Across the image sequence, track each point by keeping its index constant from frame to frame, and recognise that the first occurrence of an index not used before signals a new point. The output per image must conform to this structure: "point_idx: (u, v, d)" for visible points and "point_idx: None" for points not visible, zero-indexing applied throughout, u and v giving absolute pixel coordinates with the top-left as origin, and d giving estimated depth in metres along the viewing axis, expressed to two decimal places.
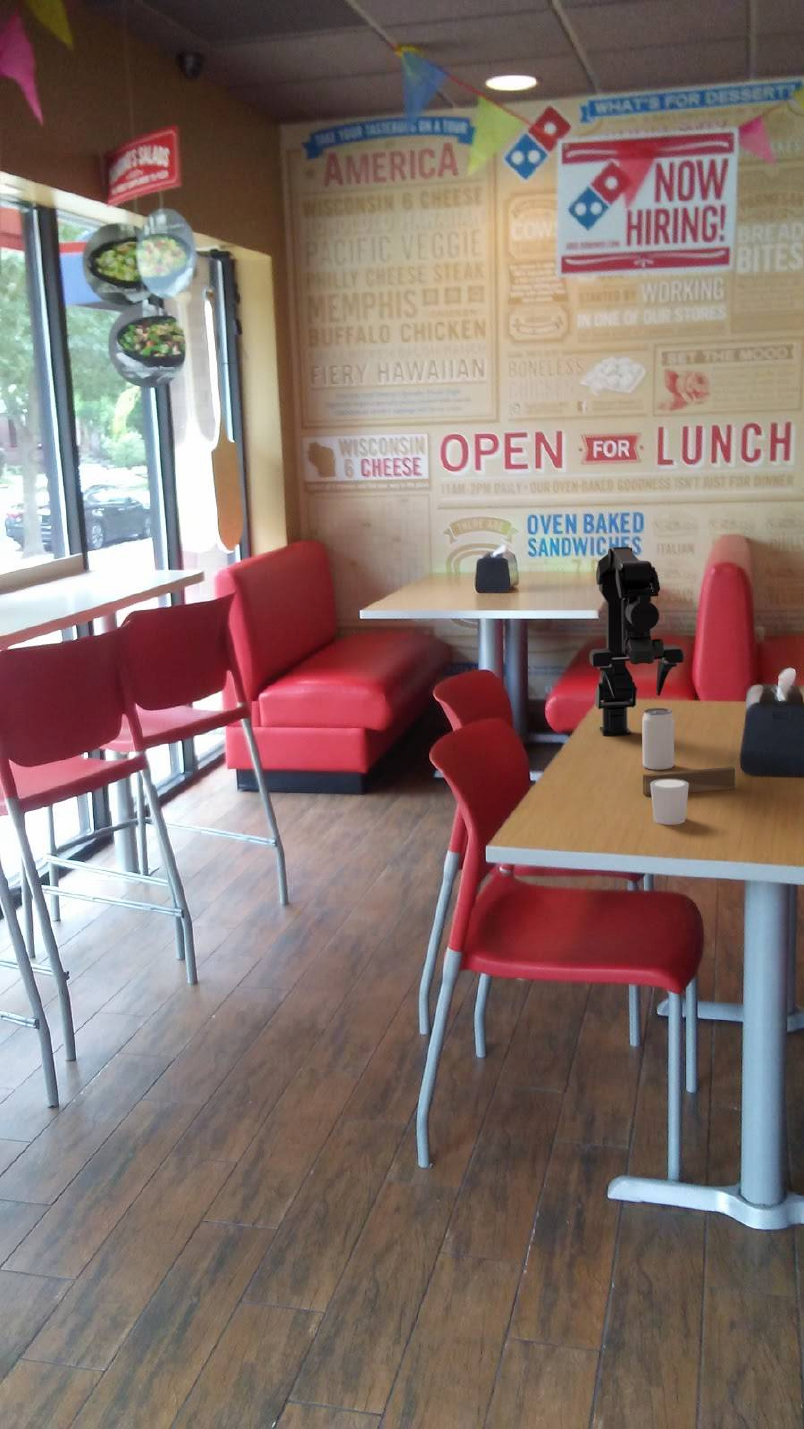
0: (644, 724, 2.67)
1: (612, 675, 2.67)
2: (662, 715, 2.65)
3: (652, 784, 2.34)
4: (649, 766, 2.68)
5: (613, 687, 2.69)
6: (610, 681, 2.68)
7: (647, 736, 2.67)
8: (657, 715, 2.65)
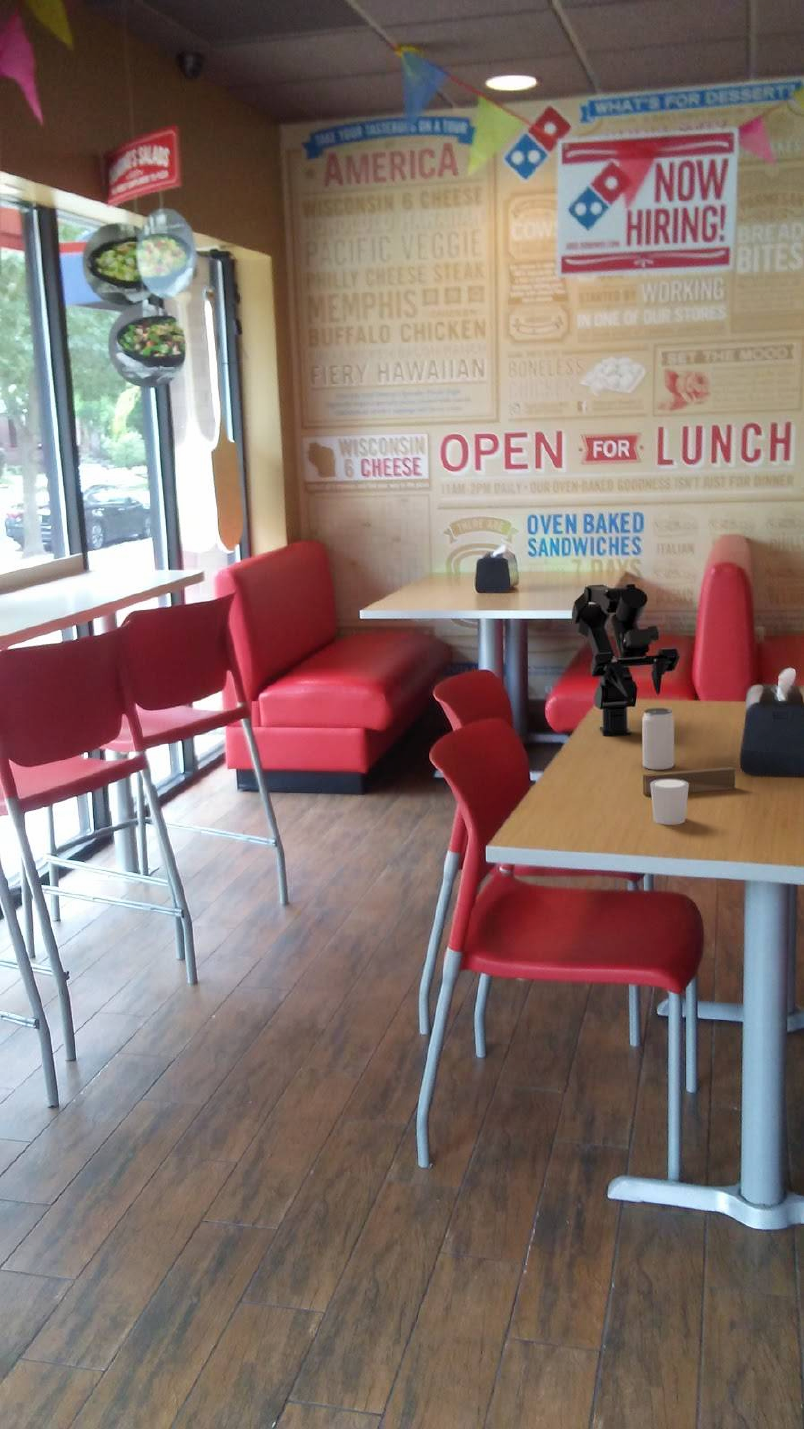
0: (644, 724, 2.67)
1: (621, 672, 2.78)
2: (662, 715, 2.65)
3: (652, 784, 2.34)
4: (649, 766, 2.68)
5: (624, 684, 2.77)
6: (620, 678, 2.77)
7: (647, 736, 2.67)
8: (657, 715, 2.65)
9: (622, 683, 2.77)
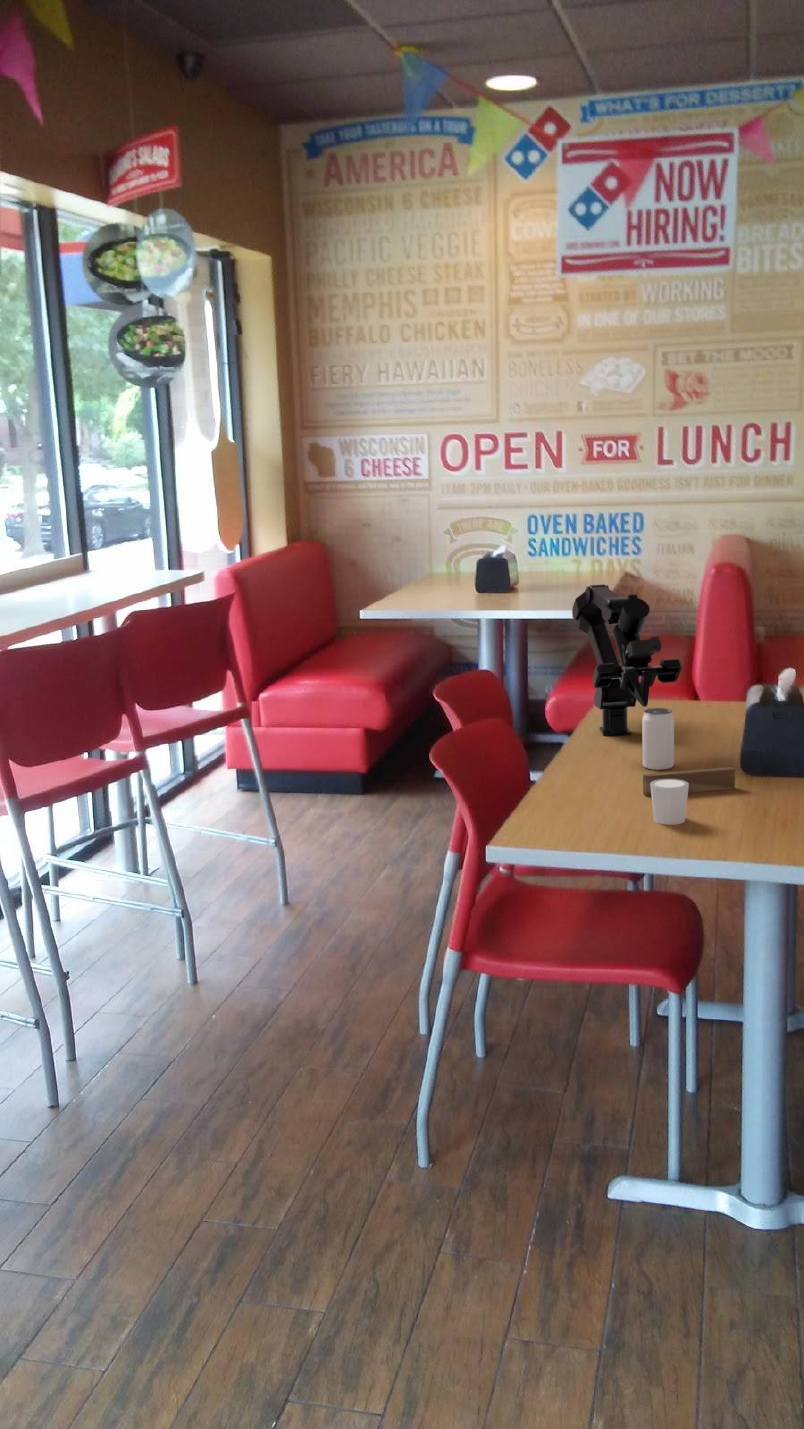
0: (644, 724, 2.67)
1: (638, 682, 2.77)
2: (662, 715, 2.65)
3: (652, 784, 2.34)
4: (649, 766, 2.68)
5: (641, 694, 2.76)
6: (637, 688, 2.77)
7: (647, 736, 2.67)
8: (657, 715, 2.65)
9: (639, 693, 2.76)
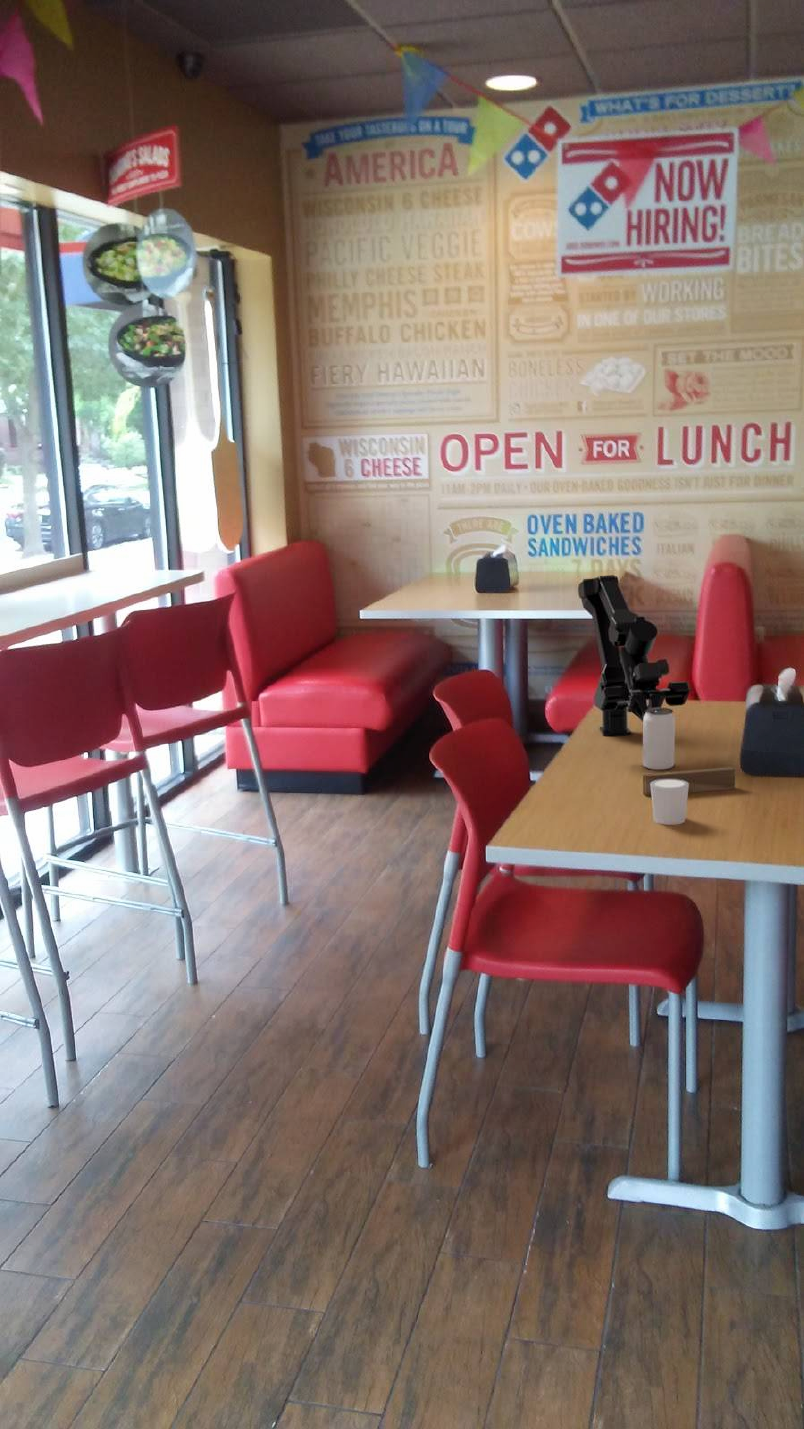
0: (645, 724, 2.67)
1: (645, 705, 2.73)
2: (663, 715, 2.65)
3: (652, 784, 2.34)
4: (649, 766, 2.68)
5: None
6: None
7: (647, 736, 2.67)
8: (658, 715, 2.65)
9: None
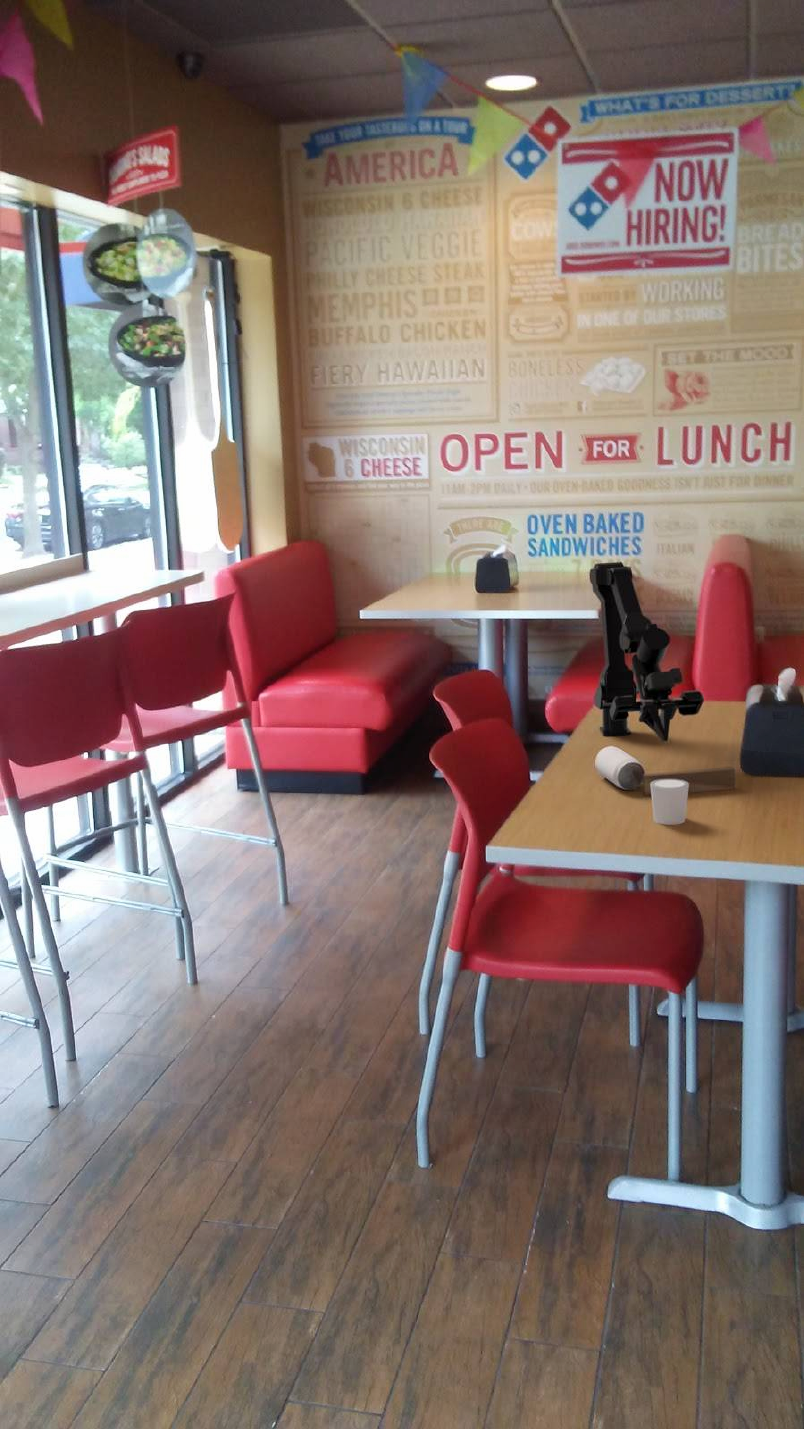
0: None
1: (658, 715, 2.65)
2: (624, 764, 2.53)
3: (652, 784, 2.34)
4: (616, 747, 2.64)
5: (661, 728, 2.64)
6: (657, 722, 2.64)
7: None
8: (629, 762, 2.53)
9: (659, 727, 2.64)
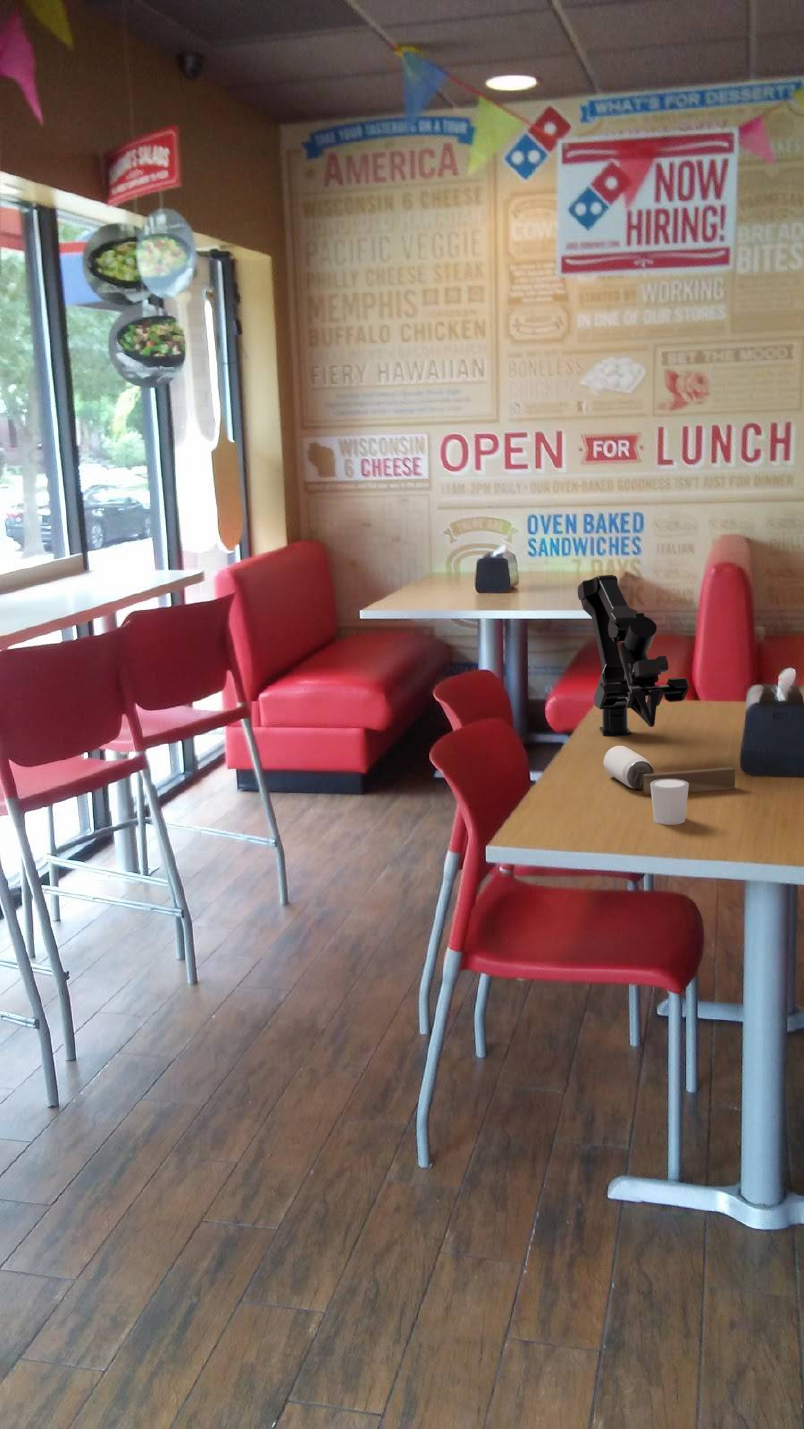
0: None
1: (644, 702, 2.73)
2: (640, 761, 2.53)
3: (652, 784, 2.34)
4: None
5: (648, 714, 2.72)
6: (644, 708, 2.73)
7: None
8: (645, 761, 2.54)
9: (646, 713, 2.73)
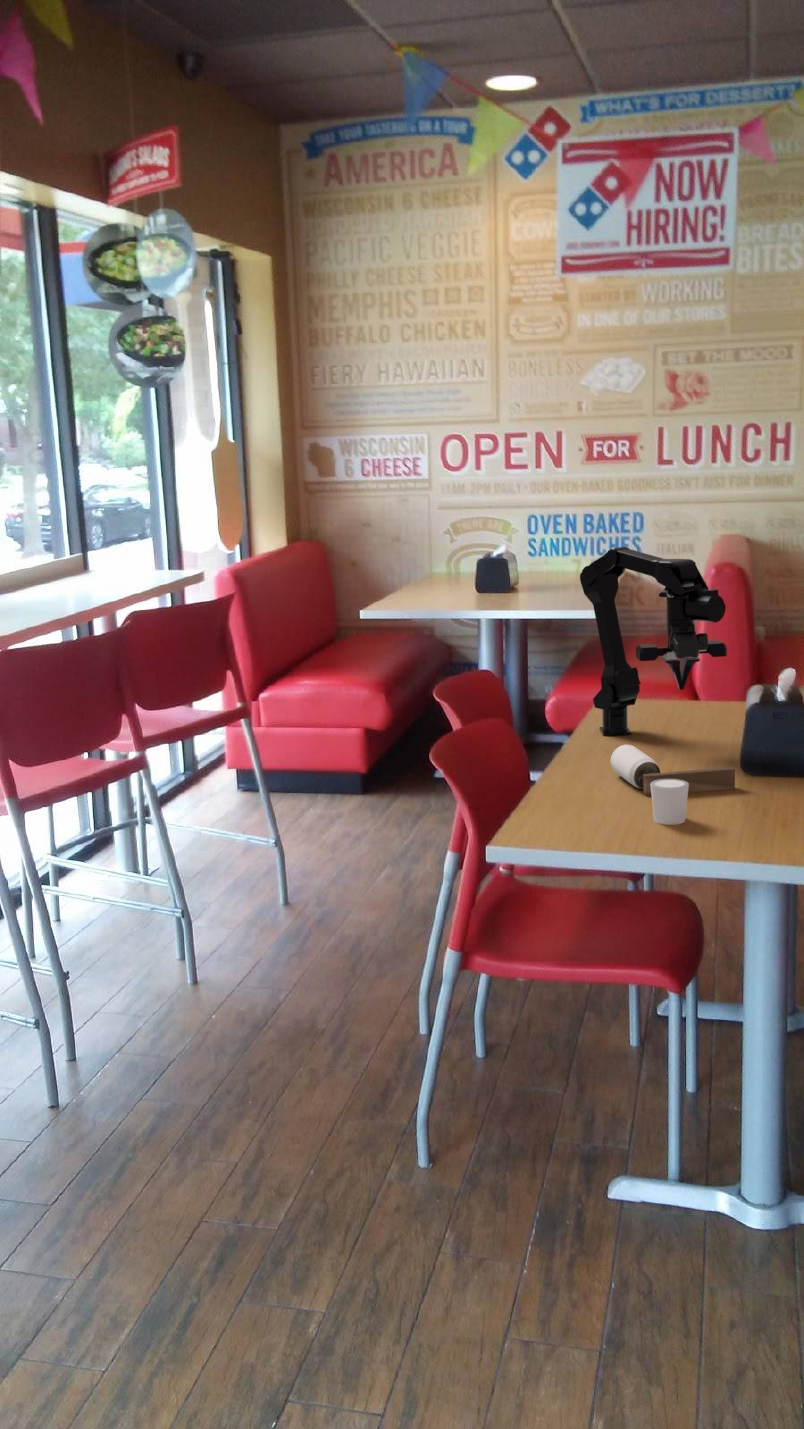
0: None
1: (678, 668, 2.79)
2: (653, 762, 2.54)
3: (652, 784, 2.34)
4: None
5: (679, 680, 2.80)
6: (676, 674, 2.79)
7: None
8: None
9: (677, 679, 2.80)
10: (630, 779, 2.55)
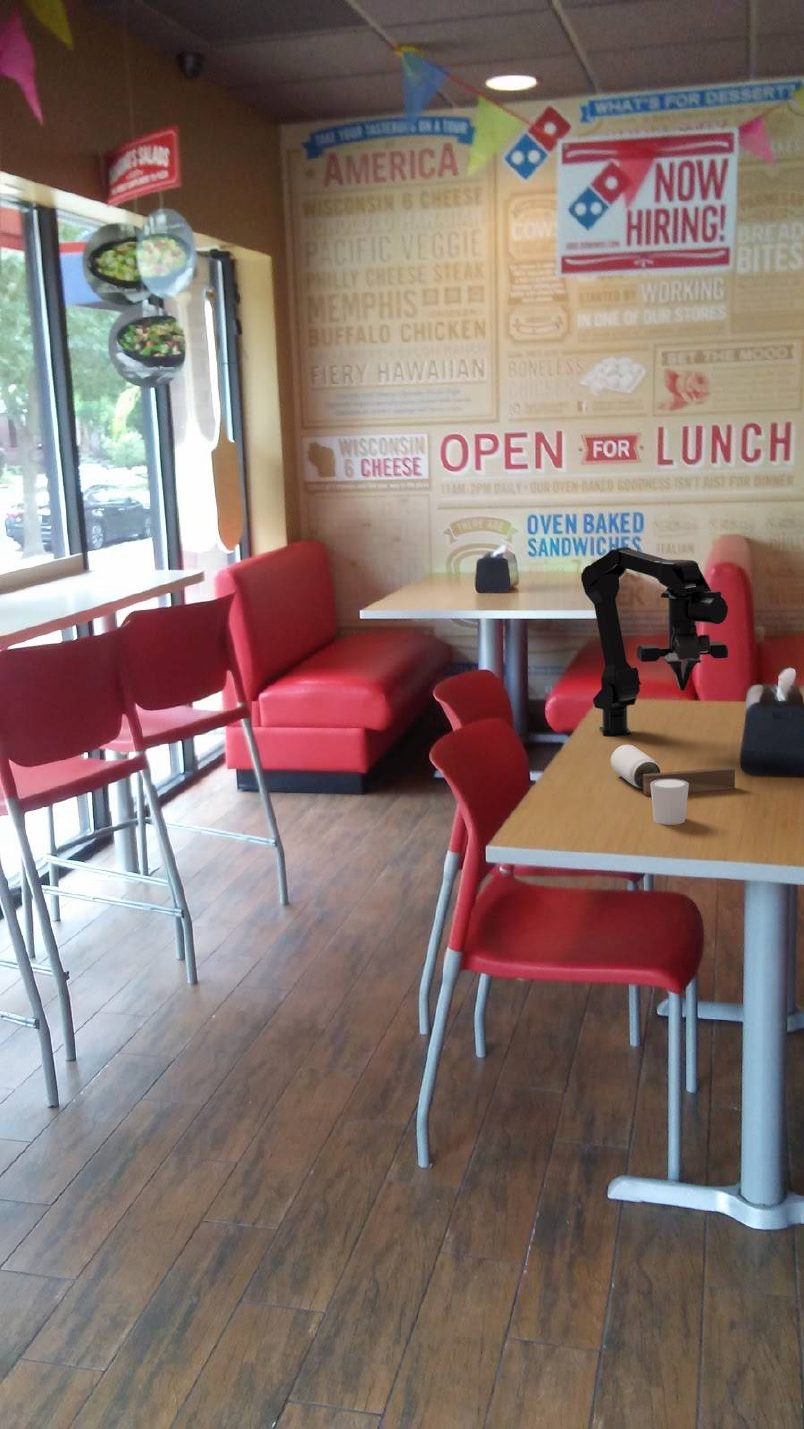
0: None
1: (679, 669, 2.79)
2: (653, 762, 2.54)
3: (652, 784, 2.34)
4: None
5: (680, 681, 2.80)
6: (677, 675, 2.79)
7: None
8: None
9: (678, 679, 2.80)
10: (630, 779, 2.55)
